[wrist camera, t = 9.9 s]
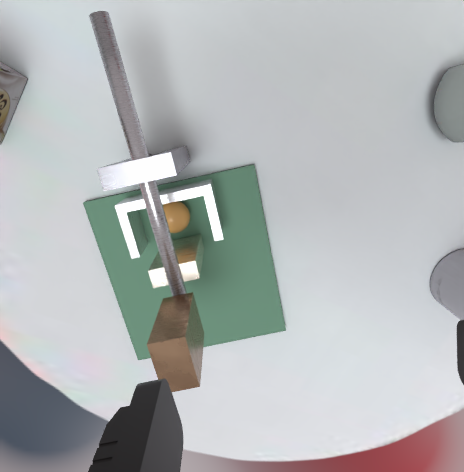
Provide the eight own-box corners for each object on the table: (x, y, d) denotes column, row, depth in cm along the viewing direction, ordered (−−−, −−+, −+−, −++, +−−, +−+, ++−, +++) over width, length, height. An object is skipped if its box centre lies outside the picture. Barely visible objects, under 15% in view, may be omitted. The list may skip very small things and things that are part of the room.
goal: (211, 178, 43) (210, 184, 38) (223, 227, 45) (223, 239, 40) (126, 197, 43) (114, 205, 38) (141, 245, 45) (131, 258, 40)
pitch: (253, 164, 43) (254, 165, 42) (284, 326, 50) (285, 330, 49) (85, 201, 44) (82, 202, 43) (139, 355, 51) (138, 360, 50)
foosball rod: (150, 37, 37) (88, -44, 20) (214, 289, 47) (210, 384, 29) (106, 48, 38) (6, -24, 20) (178, 296, 47) (152, 395, 29)
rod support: (186, 145, 42) (170, 152, 29) (190, 161, 43) (176, 175, 30) (134, 157, 43) (96, 168, 30) (139, 172, 43) (103, 191, 30)
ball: (186, 215, 39) (194, 235, 42) (184, 190, 41) (192, 211, 45) (152, 222, 39) (163, 242, 42) (152, 197, 41) (162, 217, 45)
